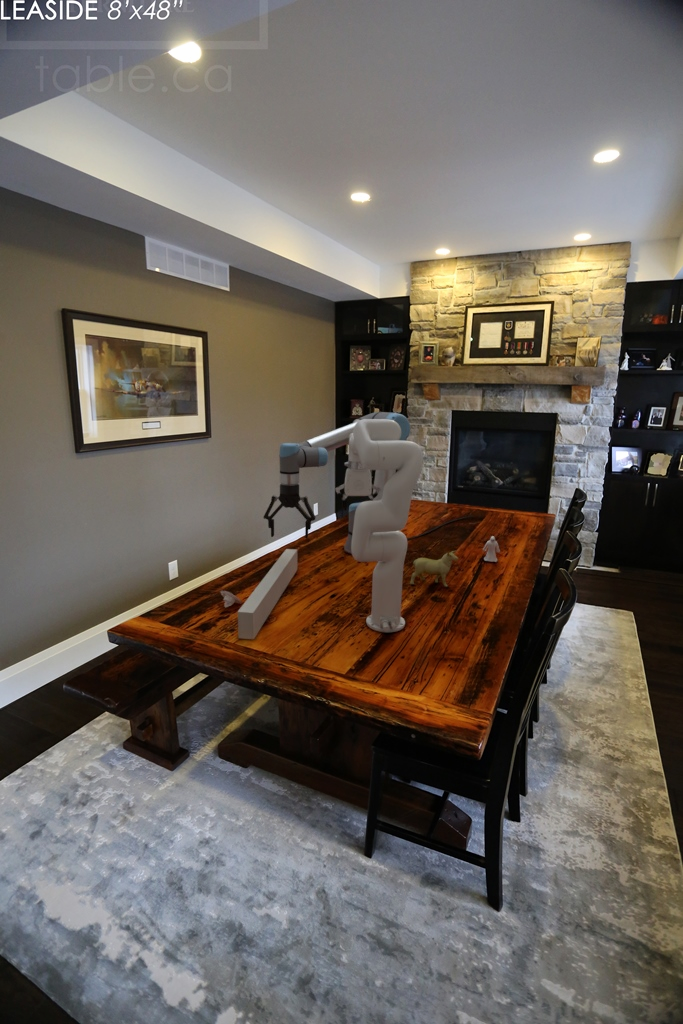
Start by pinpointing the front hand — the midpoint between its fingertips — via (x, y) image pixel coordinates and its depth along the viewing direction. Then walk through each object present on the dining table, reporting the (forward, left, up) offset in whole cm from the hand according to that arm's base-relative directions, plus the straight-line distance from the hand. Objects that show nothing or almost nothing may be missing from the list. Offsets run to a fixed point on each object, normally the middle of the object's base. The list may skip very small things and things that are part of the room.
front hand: (357, 509), depth 193 cm
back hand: (+4, +26, -12) cm, 29 cm away
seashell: (-23, +46, -29) cm, 59 cm away
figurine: (+21, -63, -29) cm, 73 cm away
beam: (-17, +32, -29) cm, 46 cm away
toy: (-7, -30, -29) cm, 42 cm away
